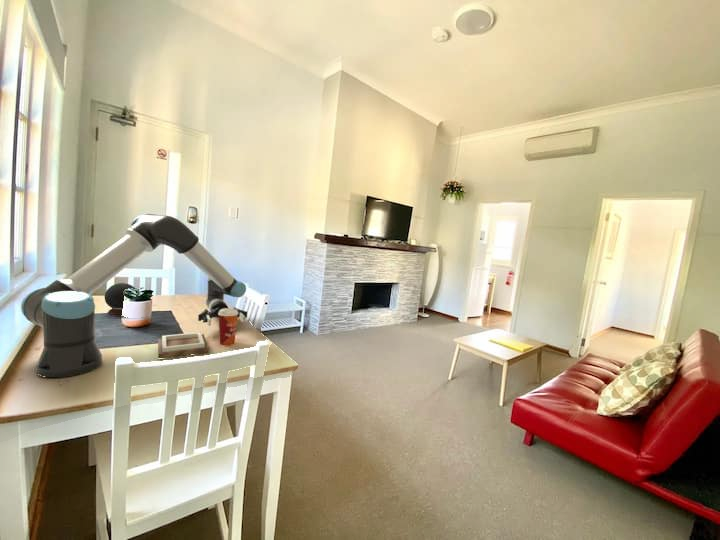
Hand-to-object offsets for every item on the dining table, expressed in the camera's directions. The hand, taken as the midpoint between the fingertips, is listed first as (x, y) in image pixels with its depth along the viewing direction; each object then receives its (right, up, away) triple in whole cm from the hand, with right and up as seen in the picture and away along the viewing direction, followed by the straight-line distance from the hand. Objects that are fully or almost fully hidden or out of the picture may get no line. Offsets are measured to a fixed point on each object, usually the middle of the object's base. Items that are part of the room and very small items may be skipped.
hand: (227, 321), depth 131 cm
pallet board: (-12, -8, -12) cm, 19 cm away
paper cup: (+2, -9, -3) cm, 10 cm away
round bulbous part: (-62, 0, +22) cm, 66 cm away
